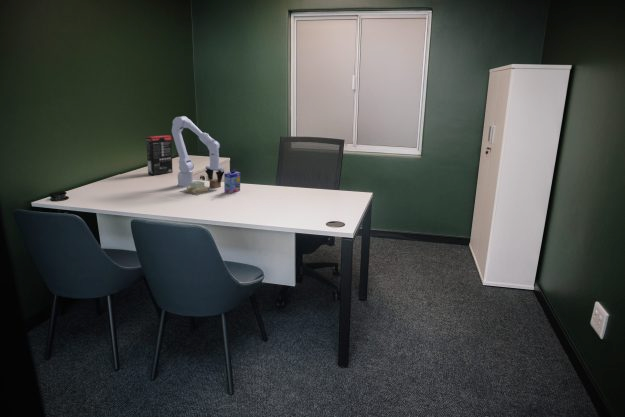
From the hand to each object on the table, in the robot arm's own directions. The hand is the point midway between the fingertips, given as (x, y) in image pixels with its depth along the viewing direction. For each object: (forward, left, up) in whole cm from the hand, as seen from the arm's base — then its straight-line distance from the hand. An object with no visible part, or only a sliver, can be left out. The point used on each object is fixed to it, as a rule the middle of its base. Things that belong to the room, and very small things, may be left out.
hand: (215, 181), depth 285 cm
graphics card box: (-61, +6, -4) cm, 62 cm away
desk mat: (0, -15, -4) cm, 15 cm away
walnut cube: (0, 0, -4) cm, 4 cm away
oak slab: (0, -15, -4) cm, 15 cm away
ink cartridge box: (+17, -2, -4) cm, 18 cm away
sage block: (0, -15, -1) cm, 15 cm away
